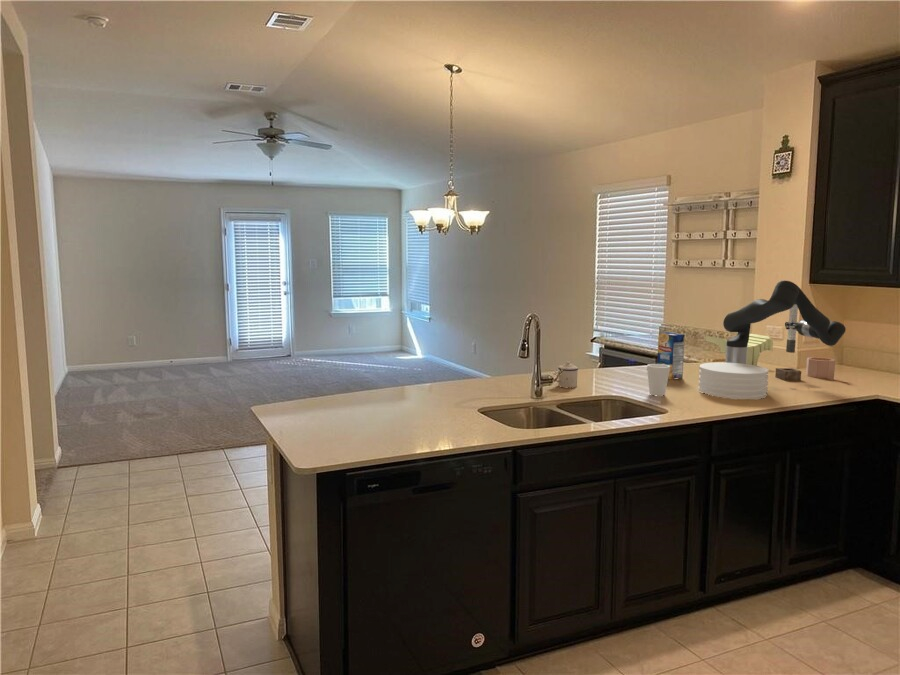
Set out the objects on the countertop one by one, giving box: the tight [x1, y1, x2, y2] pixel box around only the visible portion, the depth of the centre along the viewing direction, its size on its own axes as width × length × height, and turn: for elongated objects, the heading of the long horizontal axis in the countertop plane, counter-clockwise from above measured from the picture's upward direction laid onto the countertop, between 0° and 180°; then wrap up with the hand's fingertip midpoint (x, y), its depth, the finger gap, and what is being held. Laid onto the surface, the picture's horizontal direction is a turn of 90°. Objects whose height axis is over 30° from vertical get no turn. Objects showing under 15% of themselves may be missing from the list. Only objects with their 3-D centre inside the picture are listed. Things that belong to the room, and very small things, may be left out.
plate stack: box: [697, 361, 770, 400], centre depth 282 cm, size 28×28×12 cm
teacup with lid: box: [553, 361, 579, 388], centre depth 294 cm, size 12×9×12 cm
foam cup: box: [646, 363, 670, 397], centre depth 277 cm, size 10×9×13 cm
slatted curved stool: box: [705, 333, 774, 366], centre depth 340 cm, size 30×16×18 cm, turn 109°
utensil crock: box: [805, 356, 836, 381], centre depth 314 cm, size 11×11×10 cm
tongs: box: [785, 303, 799, 354], centre depth 303 cm, size 3×2×24 cm
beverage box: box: [656, 331, 686, 380], centre depth 317 cm, size 7×11×22 cm, turn 22°
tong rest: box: [774, 367, 802, 382], centre depth 307 cm, size 8×8×6 cm
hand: (789, 324), depth 306 cm, fingers closed on tongs, 2 cm apart
